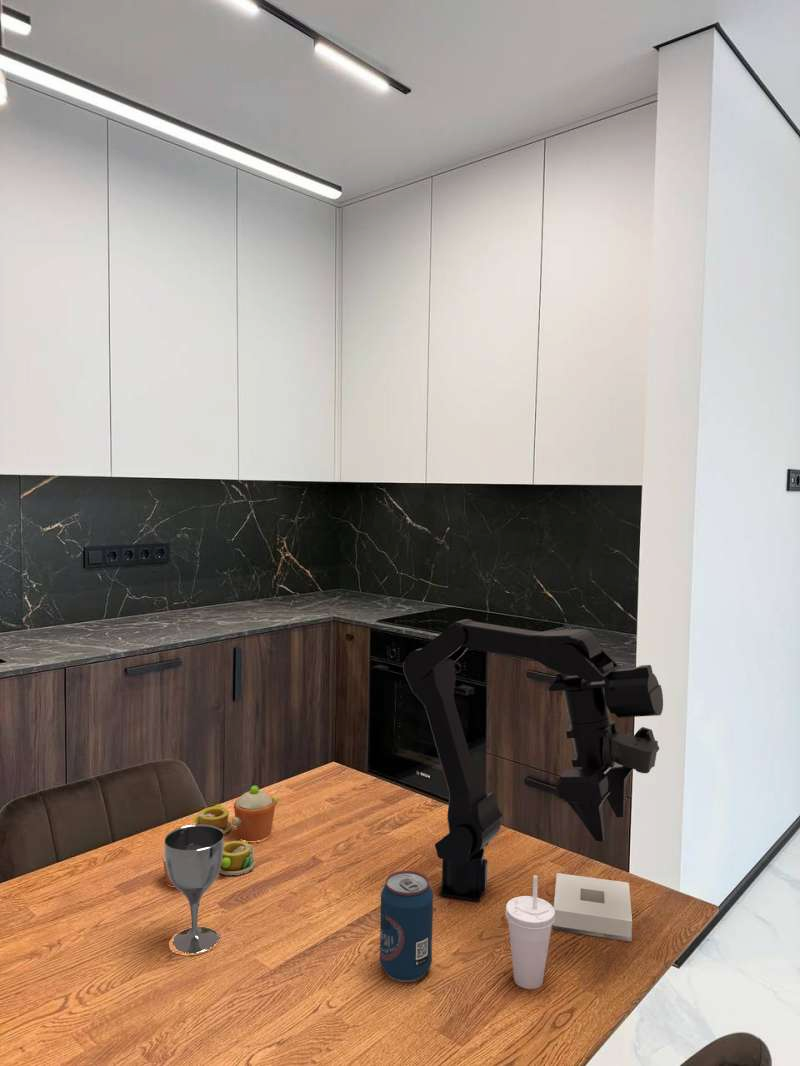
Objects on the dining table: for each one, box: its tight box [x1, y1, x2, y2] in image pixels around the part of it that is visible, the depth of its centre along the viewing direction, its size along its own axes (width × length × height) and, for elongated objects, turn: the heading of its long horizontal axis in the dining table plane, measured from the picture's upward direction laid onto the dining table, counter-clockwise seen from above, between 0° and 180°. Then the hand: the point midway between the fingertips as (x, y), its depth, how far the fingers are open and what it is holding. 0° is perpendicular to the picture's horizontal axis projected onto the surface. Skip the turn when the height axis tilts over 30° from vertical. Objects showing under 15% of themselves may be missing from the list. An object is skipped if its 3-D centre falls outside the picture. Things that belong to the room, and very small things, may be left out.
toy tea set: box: [162, 785, 279, 887], centre depth 133 cm, size 26×16×10 cm, turn 176°
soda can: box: [379, 870, 434, 983], centre depth 102 cm, size 7×7×12 cm
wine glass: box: [164, 823, 225, 954], centre depth 107 cm, size 8×8×15 cm
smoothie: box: [505, 875, 555, 990], centre depth 100 cm, size 6×6×14 cm
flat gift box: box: [552, 872, 633, 943], centre depth 116 cm, size 11×11×3 cm
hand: (610, 828), depth 109 cm, fingers open, 9 cm apart
